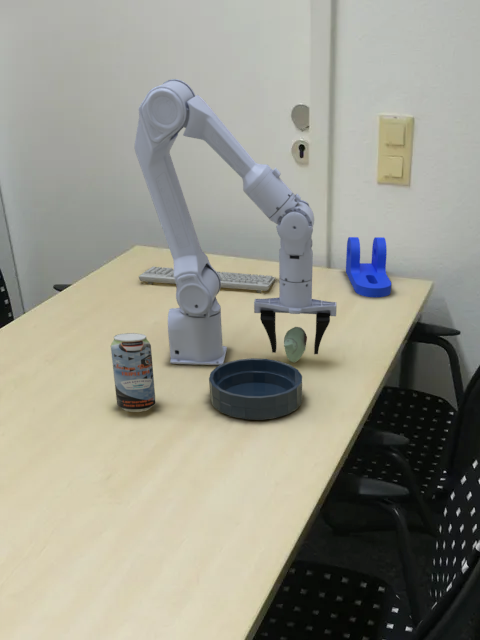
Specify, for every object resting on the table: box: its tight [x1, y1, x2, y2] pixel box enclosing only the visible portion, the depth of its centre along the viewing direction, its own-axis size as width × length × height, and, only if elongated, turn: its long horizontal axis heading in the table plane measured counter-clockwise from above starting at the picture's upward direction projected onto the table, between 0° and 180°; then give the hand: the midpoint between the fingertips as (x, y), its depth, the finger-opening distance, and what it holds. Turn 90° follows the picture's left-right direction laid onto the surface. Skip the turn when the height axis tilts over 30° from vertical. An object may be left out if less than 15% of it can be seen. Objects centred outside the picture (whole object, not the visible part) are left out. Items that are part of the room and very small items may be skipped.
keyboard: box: [138, 266, 276, 294], centre depth 177 cm, size 29×10×2 cm, turn 86°
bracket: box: [345, 236, 392, 298], centre depth 179 cm, size 18×8×9 cm, turn 10°
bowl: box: [208, 357, 303, 421], centre depth 130 cm, size 15×15×4 cm
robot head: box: [283, 326, 308, 364], centre depth 142 cm, size 8×4×7 cm, turn 173°
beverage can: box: [110, 332, 157, 413], centre depth 123 cm, size 6×7×12 cm
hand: (295, 351), depth 143 cm, fingers open, 7 cm apart
